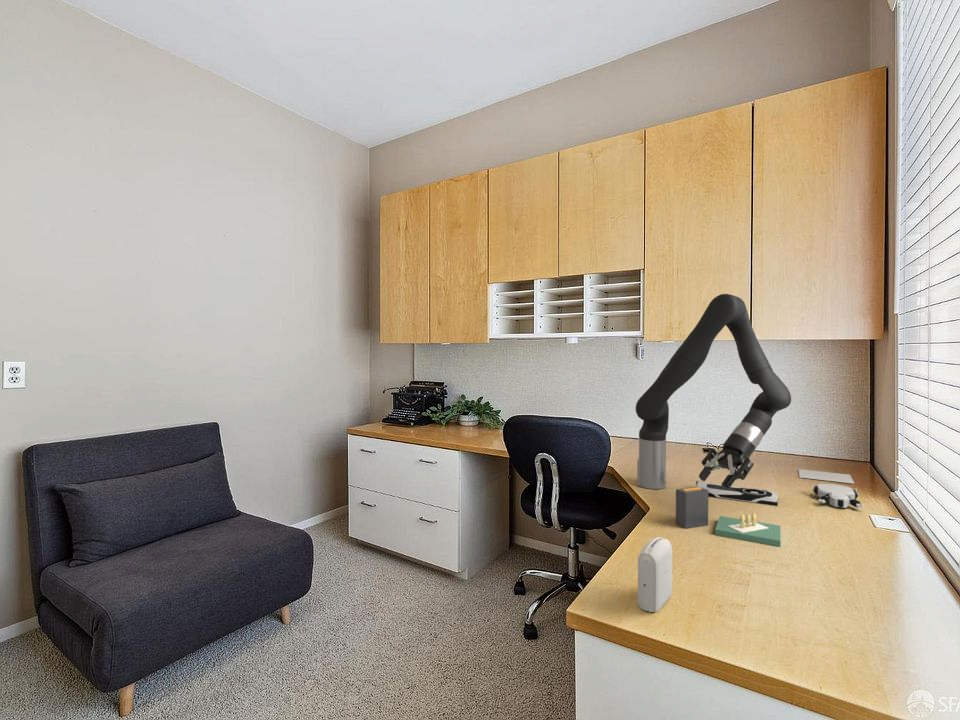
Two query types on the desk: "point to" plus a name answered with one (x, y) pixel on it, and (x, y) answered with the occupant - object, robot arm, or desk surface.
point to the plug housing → (691, 507)
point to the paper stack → (825, 476)
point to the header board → (748, 530)
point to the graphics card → (740, 493)
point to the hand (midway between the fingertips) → (712, 483)
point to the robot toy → (837, 495)
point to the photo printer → (654, 574)
